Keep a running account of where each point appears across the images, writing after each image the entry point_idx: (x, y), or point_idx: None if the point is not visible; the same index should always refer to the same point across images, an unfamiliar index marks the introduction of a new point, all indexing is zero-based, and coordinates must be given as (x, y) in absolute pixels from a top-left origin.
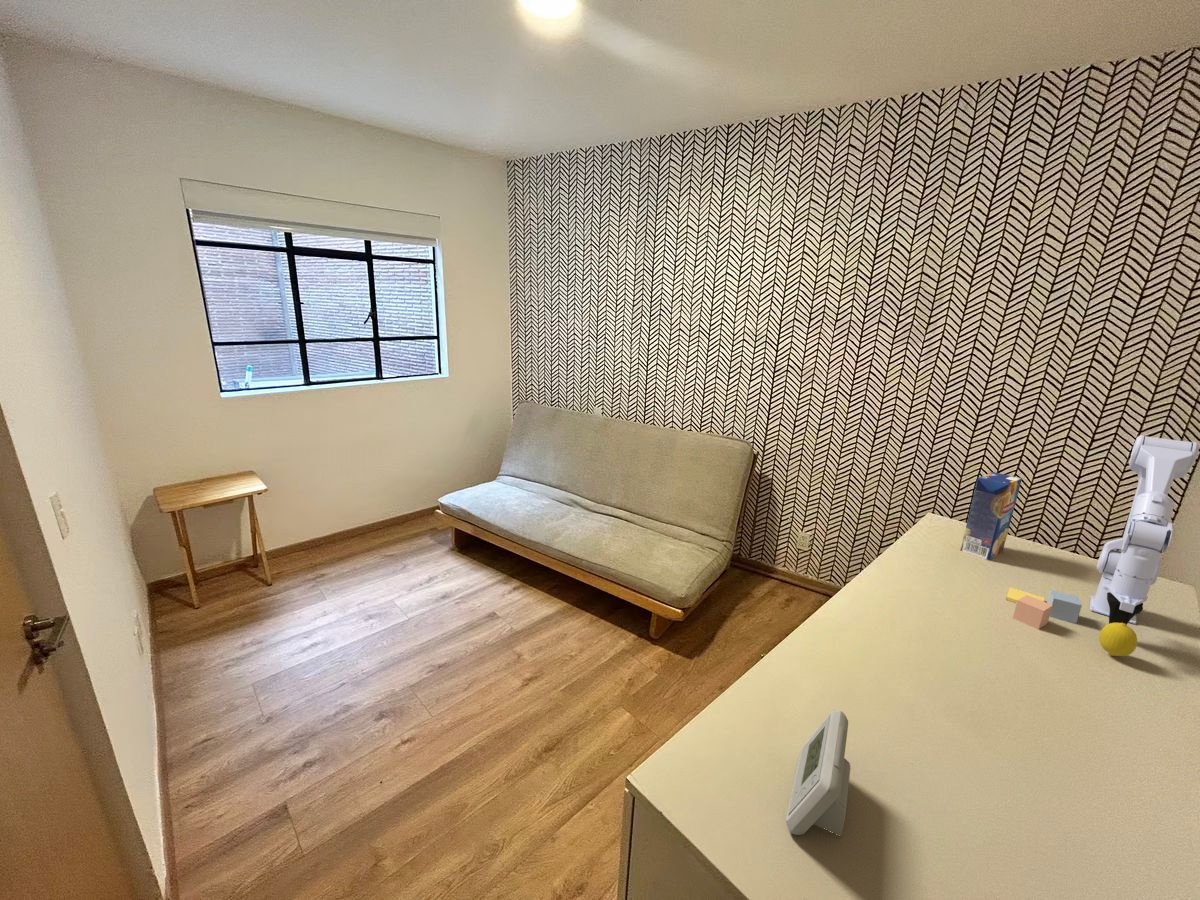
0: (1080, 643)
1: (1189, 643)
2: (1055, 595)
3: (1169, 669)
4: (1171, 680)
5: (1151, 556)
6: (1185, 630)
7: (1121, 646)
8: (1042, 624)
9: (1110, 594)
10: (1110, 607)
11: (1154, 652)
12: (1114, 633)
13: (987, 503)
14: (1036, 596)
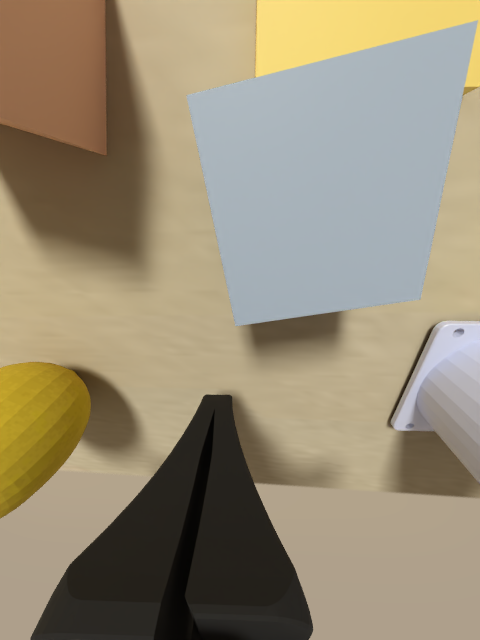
0: (51, 296)
1: (346, 488)
2: (290, 105)
3: (144, 455)
4: (86, 454)
5: None
6: (429, 489)
7: None
8: (2, 123)
9: (240, 627)
10: (121, 512)
11: None
12: None
13: None
14: (478, 10)
